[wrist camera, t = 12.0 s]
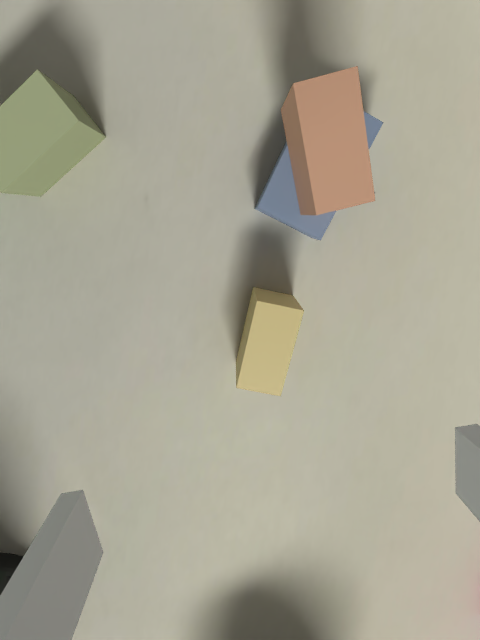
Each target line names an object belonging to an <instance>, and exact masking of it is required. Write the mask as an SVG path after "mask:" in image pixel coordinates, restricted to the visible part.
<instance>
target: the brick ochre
mask: <svg viewBox="0 0 480 640" xmlns="http://www.w3.org/2000/svg"><path fill="white" fill-rule="evenodd" d="M303 313H304V310H303V308H302V307H301V306H300V304H299V303H298V302H297V300H296V299H295V298H294V296H293V295H288V294H284V293H279V292H274V291H270V290H265V289H260V288H255V287H253V290H252V294H251V299H250V303H249V307H248V312H247V316H246V320H245V325H244V329H243V333H242V338H241V342H240V346H239V351H238V355H237V359H236V388H240V389H245V390H250V391H256V392H261V393H266V394H271V395H277V396H281V393H282V389H283V386H284V382H285V378H286V375H287V371H288V367H289V364H290V360H291V357H292V353H293V349H294V346H295V342H296V338H297V335H298V331H299V327H300V324H301V320H302V316H303Z"/></svg>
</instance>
